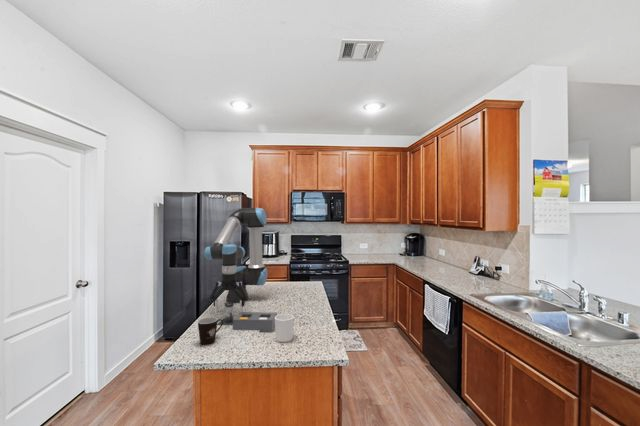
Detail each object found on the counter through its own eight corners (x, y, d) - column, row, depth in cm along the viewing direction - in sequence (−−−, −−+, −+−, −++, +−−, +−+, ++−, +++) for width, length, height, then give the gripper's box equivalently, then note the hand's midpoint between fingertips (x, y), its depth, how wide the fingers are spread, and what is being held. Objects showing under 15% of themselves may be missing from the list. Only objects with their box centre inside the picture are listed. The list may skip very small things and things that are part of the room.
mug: (285, 344, 130) (285, 321, 130) (270, 340, 135) (270, 318, 135) (300, 336, 139) (300, 314, 140) (285, 332, 144) (285, 311, 144)
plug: (226, 320, 159) (226, 302, 159) (234, 320, 159) (234, 302, 159) (223, 323, 154) (223, 304, 155) (231, 323, 154) (231, 304, 154)
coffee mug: (198, 347, 127) (198, 325, 127) (196, 340, 135) (196, 319, 135) (225, 342, 133) (225, 320, 133) (222, 335, 140) (222, 315, 140)
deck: (223, 320, 162) (223, 318, 162) (241, 320, 161) (241, 318, 161) (216, 327, 152) (216, 325, 152) (235, 327, 151) (235, 325, 151)
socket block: (240, 323, 157) (240, 311, 157) (276, 323, 156) (276, 311, 157) (232, 331, 145) (232, 319, 146) (272, 332, 144) (272, 319, 145)
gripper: (203, 274, 154) (203, 314, 153) (249, 274, 153) (249, 314, 152) (209, 271, 162) (209, 310, 161) (253, 271, 160) (253, 310, 160)
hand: (228, 312), depth 157 cm, fingers open, 13 cm apart
